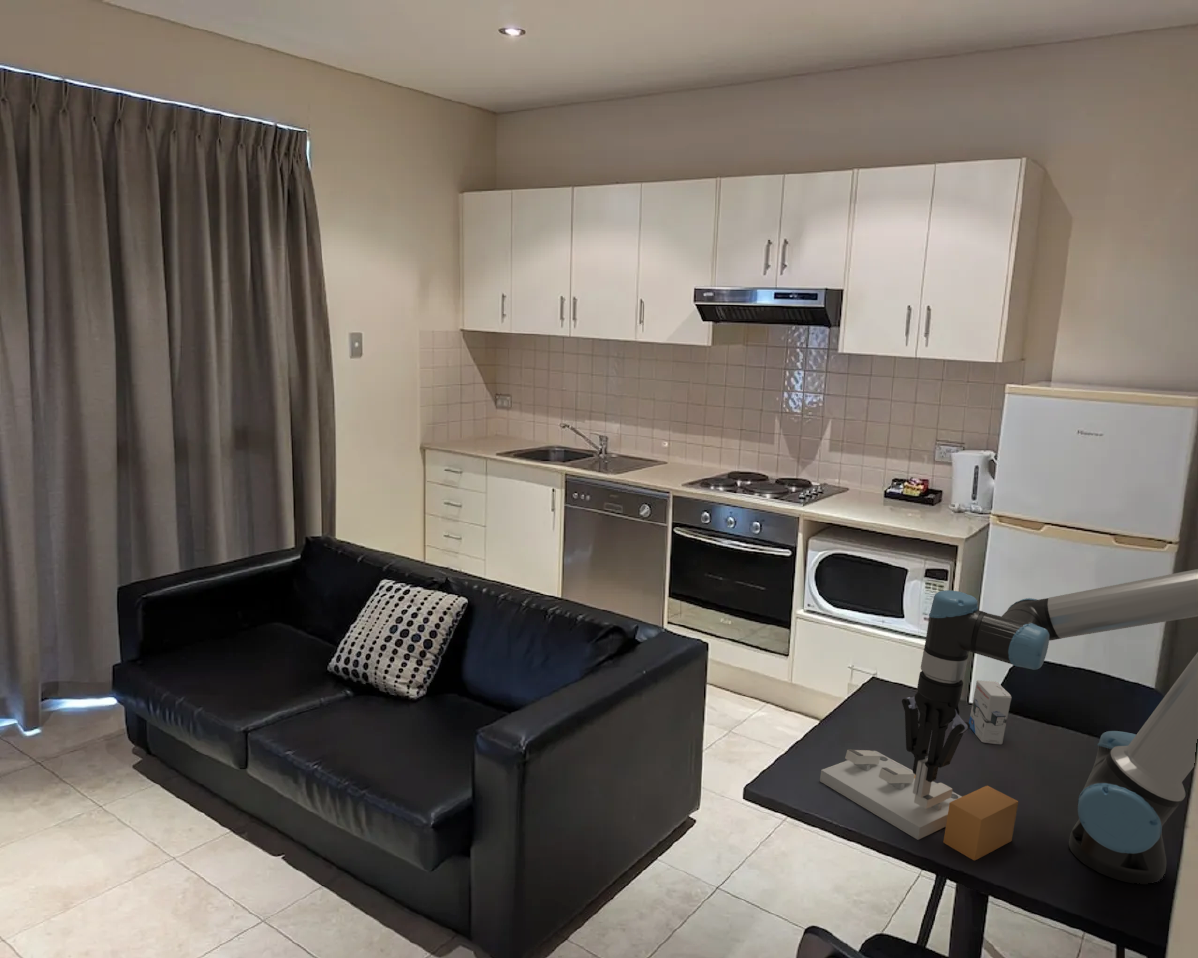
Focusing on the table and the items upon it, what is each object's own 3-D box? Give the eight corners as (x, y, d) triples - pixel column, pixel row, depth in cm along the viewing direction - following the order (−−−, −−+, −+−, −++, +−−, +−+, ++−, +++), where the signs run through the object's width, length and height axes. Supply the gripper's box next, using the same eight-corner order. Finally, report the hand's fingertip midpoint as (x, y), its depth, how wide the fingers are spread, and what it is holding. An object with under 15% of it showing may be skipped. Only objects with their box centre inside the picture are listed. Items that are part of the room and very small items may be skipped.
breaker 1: (878, 764, 183) (881, 755, 183) (855, 764, 179) (858, 754, 178) (867, 758, 186) (870, 749, 185) (844, 758, 181) (847, 749, 181)
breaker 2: (912, 782, 177) (915, 773, 177) (889, 783, 172) (892, 773, 172) (901, 776, 179) (904, 767, 179) (878, 776, 174) (881, 767, 174)
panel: (971, 814, 172) (974, 797, 172) (917, 839, 162) (920, 821, 162) (873, 761, 190) (875, 745, 190) (819, 781, 181) (821, 764, 180)
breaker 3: (951, 797, 170) (952, 787, 170) (926, 809, 166) (927, 799, 165) (939, 790, 173) (940, 781, 172) (914, 802, 168) (915, 792, 168)
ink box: (967, 725, 211) (974, 679, 208) (988, 727, 211) (996, 680, 208) (982, 743, 202) (990, 695, 200) (1004, 744, 202) (1012, 696, 200)
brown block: (1011, 840, 164) (1018, 801, 163) (974, 860, 157) (981, 819, 156) (980, 823, 169) (987, 785, 168) (943, 842, 162) (949, 802, 161)
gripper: (987, 685, 159) (964, 805, 164) (922, 658, 170) (903, 772, 174) (963, 693, 155) (940, 816, 159) (898, 664, 165) (878, 781, 170)
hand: (921, 793), depth 167 cm, fingers closed
